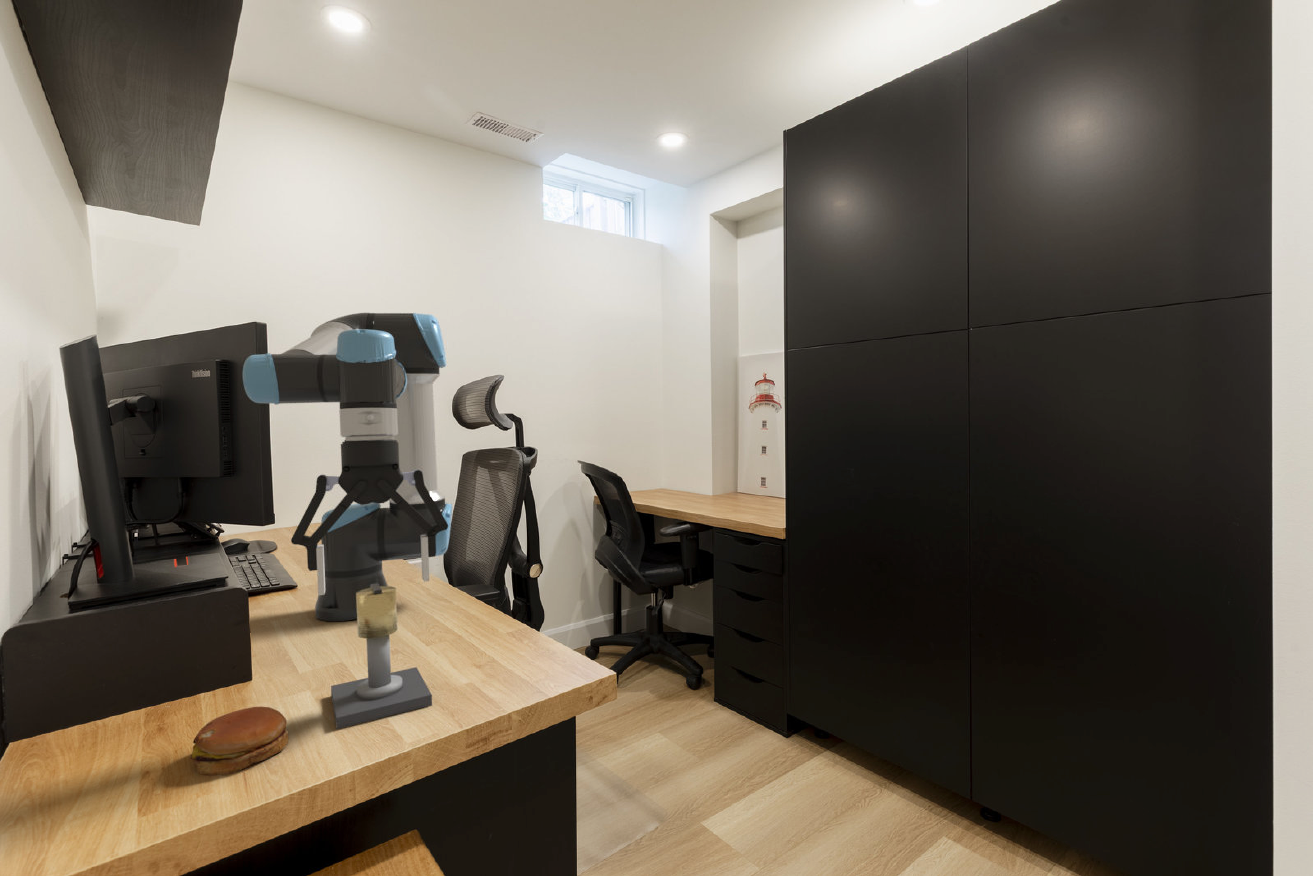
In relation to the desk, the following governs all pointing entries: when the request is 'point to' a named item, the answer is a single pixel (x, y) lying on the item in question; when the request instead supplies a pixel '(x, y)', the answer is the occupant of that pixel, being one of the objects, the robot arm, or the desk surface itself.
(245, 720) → the burger
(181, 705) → the desk surface
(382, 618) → the cap
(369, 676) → the post block
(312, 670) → the desk surface
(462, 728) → the desk surface
